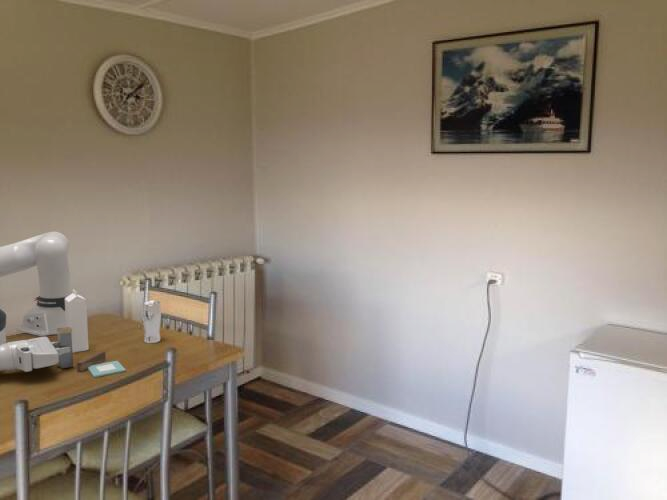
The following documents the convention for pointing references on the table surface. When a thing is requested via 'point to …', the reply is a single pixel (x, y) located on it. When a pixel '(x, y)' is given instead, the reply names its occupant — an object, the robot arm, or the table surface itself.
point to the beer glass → (151, 321)
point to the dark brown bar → (91, 361)
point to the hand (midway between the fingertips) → (68, 346)
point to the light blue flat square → (106, 369)
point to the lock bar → (63, 341)
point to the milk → (77, 321)
